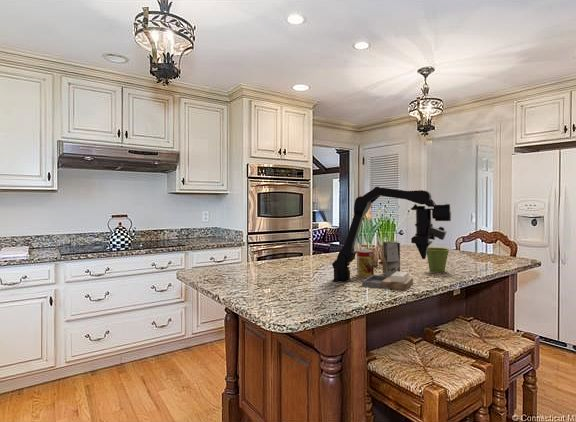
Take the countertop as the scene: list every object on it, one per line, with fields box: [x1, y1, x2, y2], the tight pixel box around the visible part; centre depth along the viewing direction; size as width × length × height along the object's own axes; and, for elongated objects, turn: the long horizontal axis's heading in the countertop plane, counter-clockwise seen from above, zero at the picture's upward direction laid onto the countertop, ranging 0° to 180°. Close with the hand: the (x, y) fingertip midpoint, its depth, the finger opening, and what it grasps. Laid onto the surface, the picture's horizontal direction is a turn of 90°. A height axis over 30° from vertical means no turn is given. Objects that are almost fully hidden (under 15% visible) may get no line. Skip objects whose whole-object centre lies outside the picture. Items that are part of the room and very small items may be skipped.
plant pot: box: [426, 247, 451, 273], centre depth 185 cm, size 12×12×11 cm
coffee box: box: [382, 240, 401, 276], centre depth 176 cm, size 9×6×16 cm
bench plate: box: [381, 276, 414, 291], centre depth 155 cm, size 10×13×2 cm
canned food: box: [356, 249, 375, 278], centre depth 177 cm, size 8×8×12 cm
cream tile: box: [391, 271, 409, 283], centre depth 154 cm, size 5×10×2 cm, turn 149°
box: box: [361, 274, 389, 289], centre depth 160 cm, size 8×15×2 cm, turn 149°
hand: (423, 258), depth 149 cm, fingers closed
